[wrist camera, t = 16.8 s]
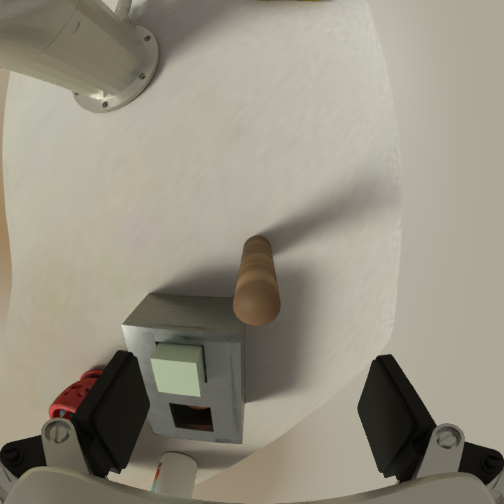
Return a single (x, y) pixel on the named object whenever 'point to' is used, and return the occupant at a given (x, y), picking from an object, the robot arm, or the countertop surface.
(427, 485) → the robot arm
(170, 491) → the milk bottle
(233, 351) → the grey box
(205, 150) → the countertop surface
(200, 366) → the on button
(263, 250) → the stylus dowel
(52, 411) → the plant pot
